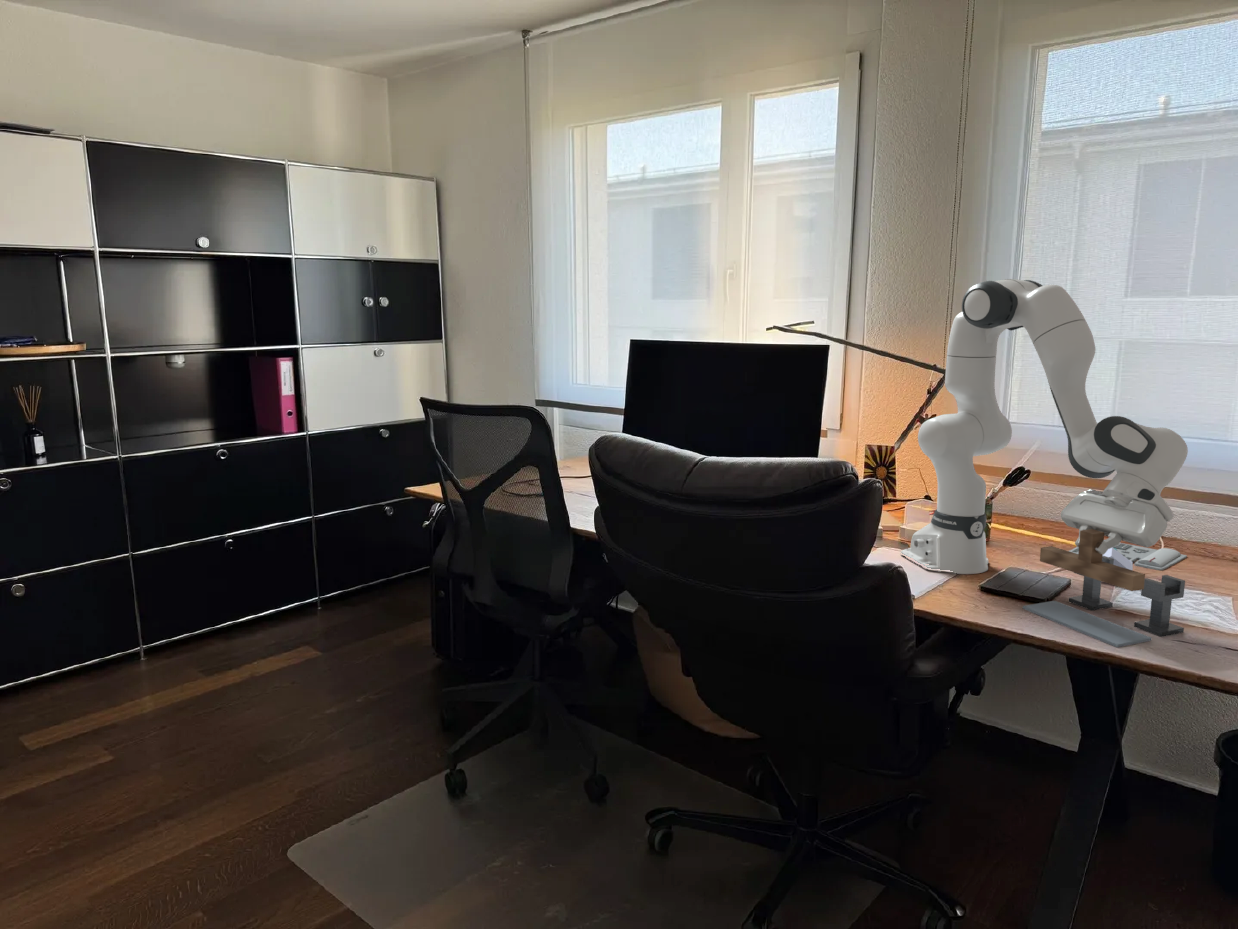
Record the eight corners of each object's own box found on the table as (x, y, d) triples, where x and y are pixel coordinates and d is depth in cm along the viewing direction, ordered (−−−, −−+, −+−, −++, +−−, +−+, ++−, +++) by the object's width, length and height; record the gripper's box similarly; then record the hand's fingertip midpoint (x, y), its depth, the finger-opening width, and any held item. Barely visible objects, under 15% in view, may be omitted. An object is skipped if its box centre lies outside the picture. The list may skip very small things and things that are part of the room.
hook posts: (1067, 602, 187) (1071, 556, 185) (1089, 598, 189) (1093, 552, 187) (1160, 637, 167) (1166, 586, 165) (1184, 632, 169) (1190, 582, 167)
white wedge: (1131, 586, 197) (1131, 571, 208) (1133, 558, 195) (1134, 545, 206) (1087, 580, 201) (1089, 566, 212) (1089, 553, 200) (1091, 540, 211)
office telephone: (1188, 550, 218) (1162, 566, 205) (1186, 559, 219) (1161, 576, 206) (1091, 532, 235) (1061, 546, 222) (1090, 541, 236) (1061, 555, 223)
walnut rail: (1039, 561, 182) (1042, 520, 180) (1050, 559, 183) (1053, 519, 181) (1132, 591, 161) (1136, 545, 160) (1143, 589, 162) (1147, 543, 161)
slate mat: (1022, 608, 183) (1022, 606, 183) (1054, 603, 186) (1054, 600, 186) (1116, 647, 162) (1117, 644, 162) (1151, 640, 165) (1151, 637, 165)
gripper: (1077, 479, 181) (1039, 528, 179) (1168, 497, 162) (1126, 552, 161) (1091, 497, 183) (1054, 546, 182) (1182, 517, 164) (1141, 572, 163)
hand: (1088, 549), depth 171 cm, fingers closed on walnut rail, 3 cm apart
